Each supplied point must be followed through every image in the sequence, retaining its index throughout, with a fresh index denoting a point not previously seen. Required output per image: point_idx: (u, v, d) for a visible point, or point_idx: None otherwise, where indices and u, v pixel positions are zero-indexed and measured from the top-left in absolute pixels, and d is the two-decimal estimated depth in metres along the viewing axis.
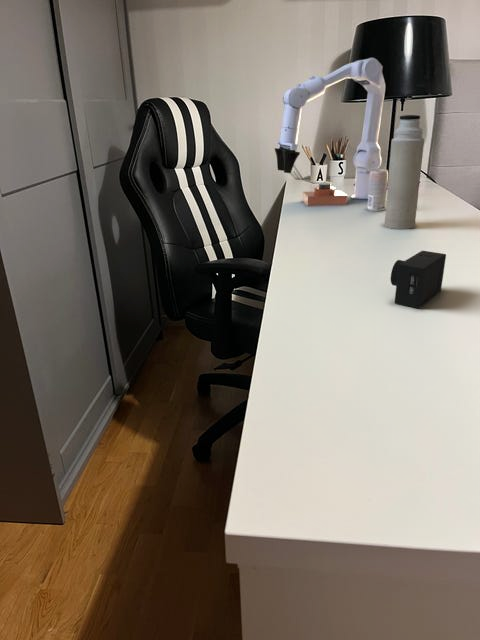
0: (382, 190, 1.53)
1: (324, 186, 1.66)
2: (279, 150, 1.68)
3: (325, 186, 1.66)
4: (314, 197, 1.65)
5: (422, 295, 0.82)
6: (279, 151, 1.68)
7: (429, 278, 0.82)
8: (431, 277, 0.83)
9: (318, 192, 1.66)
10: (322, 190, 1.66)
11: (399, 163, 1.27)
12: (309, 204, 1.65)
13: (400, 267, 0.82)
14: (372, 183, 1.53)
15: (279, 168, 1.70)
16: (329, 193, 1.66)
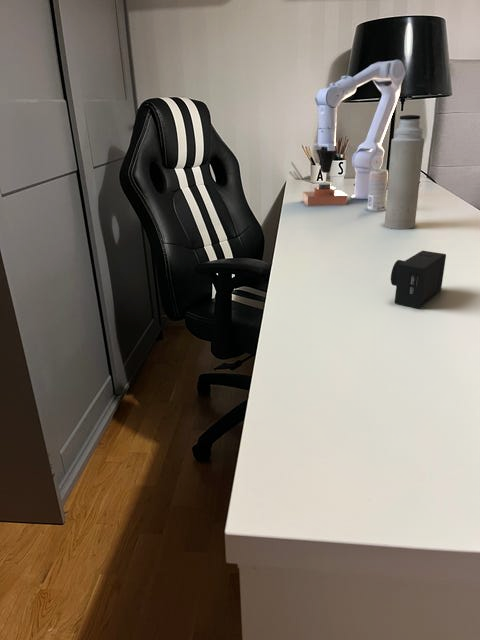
0: (382, 190, 1.53)
1: (324, 186, 1.66)
2: None
3: (325, 186, 1.66)
4: (314, 197, 1.65)
5: (422, 295, 0.82)
6: None
7: (429, 278, 0.82)
8: (431, 277, 0.83)
9: (318, 192, 1.66)
10: (322, 190, 1.66)
11: (399, 163, 1.27)
12: (309, 204, 1.65)
13: (400, 267, 0.82)
14: (372, 183, 1.53)
15: (322, 169, 1.67)
16: (329, 193, 1.66)
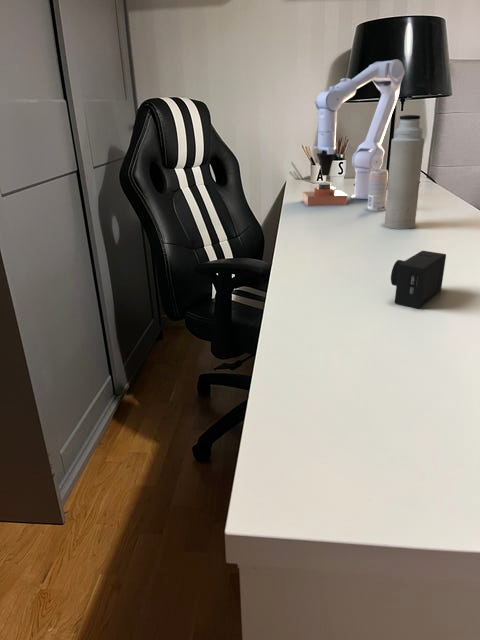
0: (382, 190, 1.53)
1: (324, 186, 1.66)
2: None
3: (325, 186, 1.66)
4: (314, 197, 1.65)
5: (422, 295, 0.82)
6: None
7: (429, 278, 0.82)
8: (431, 277, 0.83)
9: (318, 192, 1.66)
10: (322, 190, 1.66)
11: (399, 163, 1.27)
12: (309, 204, 1.65)
13: (400, 267, 0.82)
14: (372, 183, 1.53)
15: None
16: (329, 193, 1.66)
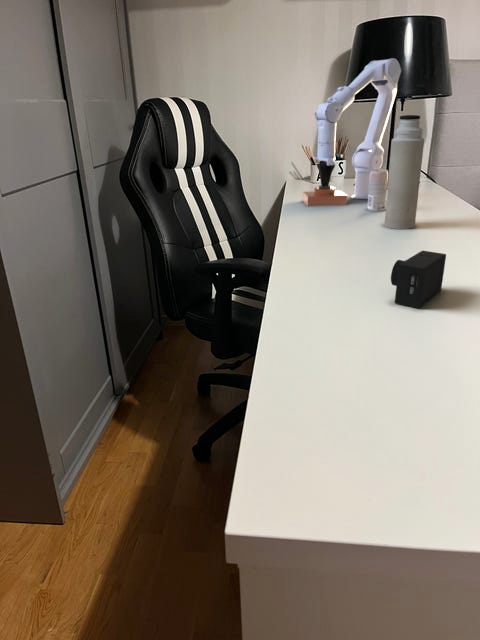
0: (382, 190, 1.53)
1: (324, 188, 1.67)
2: None
3: (325, 188, 1.67)
4: (314, 197, 1.65)
5: (422, 295, 0.82)
6: None
7: (429, 278, 0.82)
8: (431, 277, 0.83)
9: (318, 192, 1.66)
10: (322, 190, 1.66)
11: (399, 163, 1.27)
12: (309, 204, 1.65)
13: (400, 267, 0.82)
14: (372, 183, 1.53)
15: None
16: (329, 193, 1.66)
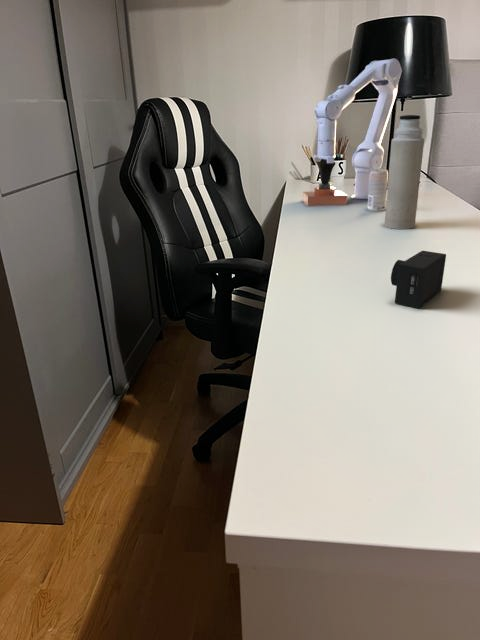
0: (382, 190, 1.53)
1: (324, 186, 1.66)
2: None
3: (325, 186, 1.66)
4: (314, 197, 1.65)
5: (422, 295, 0.82)
6: None
7: (429, 278, 0.82)
8: (431, 277, 0.83)
9: (318, 192, 1.66)
10: (322, 190, 1.66)
11: (399, 163, 1.27)
12: (309, 204, 1.65)
13: (400, 267, 0.82)
14: (372, 183, 1.53)
15: None
16: (329, 193, 1.66)
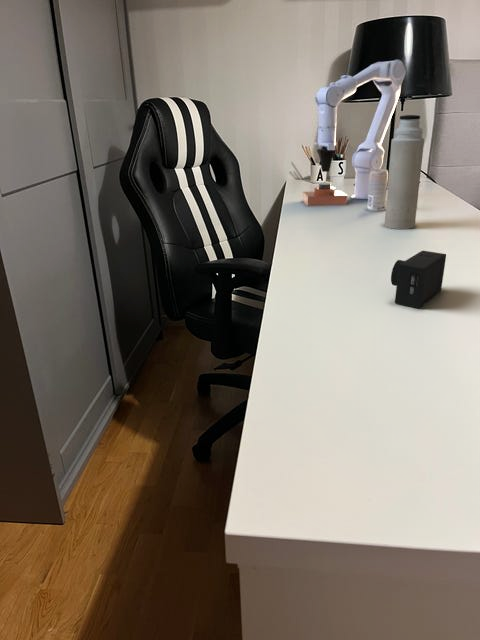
0: (382, 190, 1.53)
1: (324, 186, 1.66)
2: None
3: (325, 186, 1.66)
4: (314, 197, 1.65)
5: (422, 295, 0.82)
6: None
7: (429, 278, 0.82)
8: (431, 277, 0.83)
9: (318, 192, 1.66)
10: (322, 190, 1.66)
11: (399, 163, 1.27)
12: (309, 204, 1.65)
13: (400, 267, 0.81)
14: (372, 183, 1.53)
15: None
16: (329, 193, 1.66)
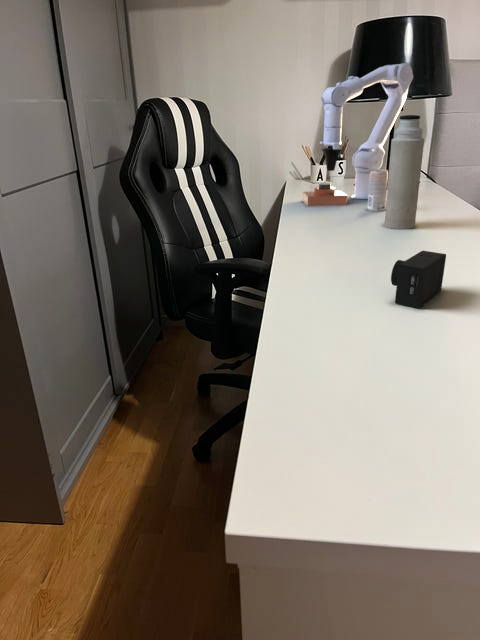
0: (382, 190, 1.53)
1: (324, 186, 1.66)
2: None
3: (325, 186, 1.66)
4: (314, 197, 1.65)
5: (422, 295, 0.82)
6: None
7: (429, 278, 0.82)
8: (431, 277, 0.83)
9: (318, 192, 1.66)
10: (322, 190, 1.66)
11: (399, 163, 1.27)
12: (309, 204, 1.65)
13: (400, 267, 0.81)
14: (372, 183, 1.53)
15: None
16: (329, 193, 1.66)
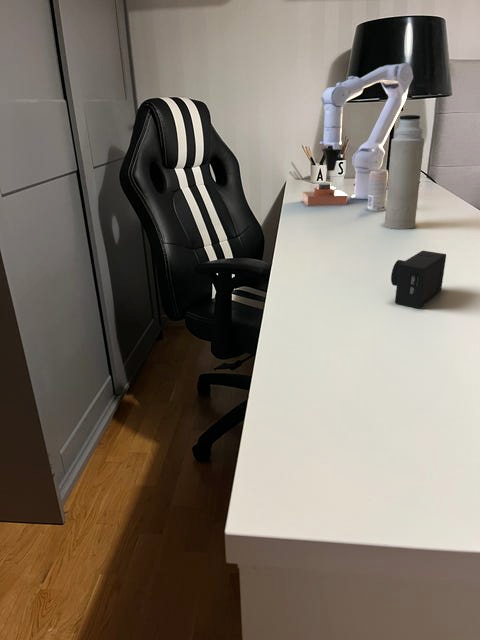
0: (382, 190, 1.53)
1: (324, 186, 1.66)
2: None
3: (325, 186, 1.66)
4: (314, 197, 1.65)
5: (422, 295, 0.82)
6: None
7: (429, 278, 0.82)
8: (431, 277, 0.83)
9: (318, 192, 1.66)
10: (322, 190, 1.66)
11: (399, 163, 1.27)
12: (309, 204, 1.65)
13: (400, 267, 0.81)
14: (372, 183, 1.53)
15: None
16: (329, 193, 1.66)
